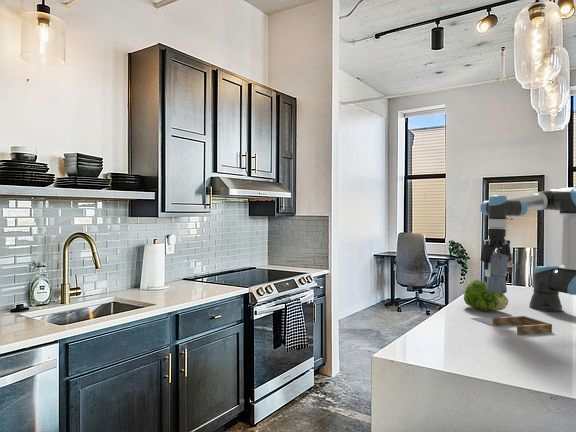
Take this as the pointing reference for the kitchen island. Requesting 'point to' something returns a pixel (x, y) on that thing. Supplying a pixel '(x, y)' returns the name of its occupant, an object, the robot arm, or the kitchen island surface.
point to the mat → (485, 320)
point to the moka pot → (497, 273)
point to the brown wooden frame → (529, 328)
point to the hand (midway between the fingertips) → (495, 276)
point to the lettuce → (484, 297)
